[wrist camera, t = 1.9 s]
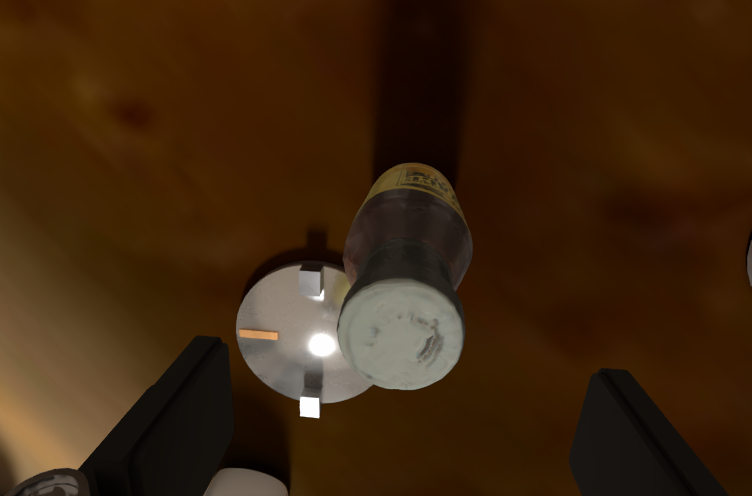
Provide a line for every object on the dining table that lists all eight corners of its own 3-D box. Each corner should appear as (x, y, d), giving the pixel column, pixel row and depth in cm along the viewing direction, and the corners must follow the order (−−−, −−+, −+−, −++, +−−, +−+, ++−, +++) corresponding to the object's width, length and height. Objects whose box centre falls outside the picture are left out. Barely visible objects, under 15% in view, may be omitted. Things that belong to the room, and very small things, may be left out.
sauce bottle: (470, 207, 32) (558, 371, 13) (403, 255, 33) (397, 461, 15) (416, 137, 30) (430, 207, 12) (350, 190, 32) (267, 327, 13)
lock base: (398, 264, 34) (397, 278, 31) (387, 402, 38) (386, 424, 36) (237, 252, 34) (223, 264, 32) (245, 389, 39) (234, 409, 36)
